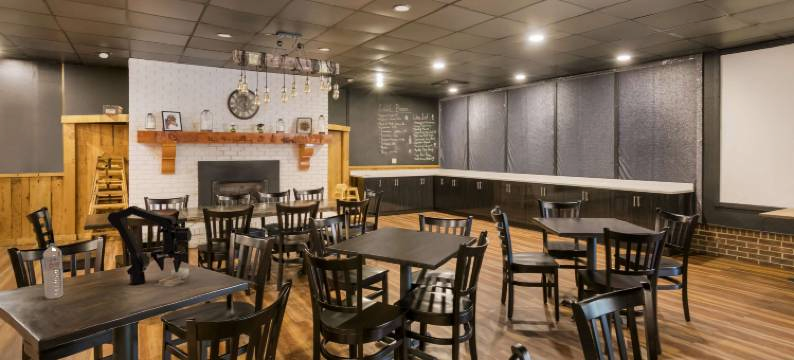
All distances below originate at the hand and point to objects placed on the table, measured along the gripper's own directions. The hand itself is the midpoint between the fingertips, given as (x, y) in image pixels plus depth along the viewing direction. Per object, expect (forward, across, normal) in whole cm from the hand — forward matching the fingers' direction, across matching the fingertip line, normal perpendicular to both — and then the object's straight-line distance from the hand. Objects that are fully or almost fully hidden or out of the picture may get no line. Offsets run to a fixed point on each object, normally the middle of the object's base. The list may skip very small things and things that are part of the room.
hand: (169, 271), depth 231 cm
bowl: (+7, +3, -10) cm, 12 cm away
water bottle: (+7, +34, +34) cm, 48 cm away
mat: (+7, 0, 0) cm, 7 cm away
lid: (+6, 0, 0) cm, 6 cm away
